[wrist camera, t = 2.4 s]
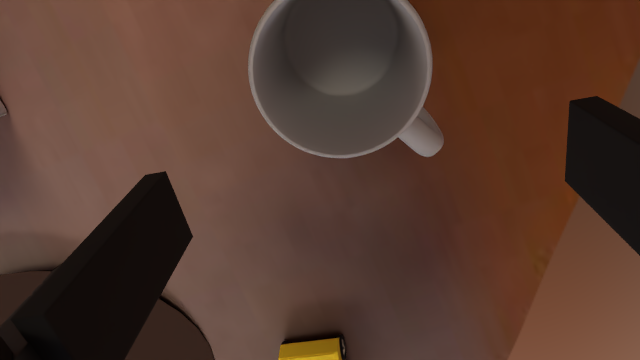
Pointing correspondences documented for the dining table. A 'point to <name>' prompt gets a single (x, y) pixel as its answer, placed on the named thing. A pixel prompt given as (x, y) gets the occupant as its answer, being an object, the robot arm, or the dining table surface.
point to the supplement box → (2, 109)
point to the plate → (154, 338)
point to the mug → (344, 76)
